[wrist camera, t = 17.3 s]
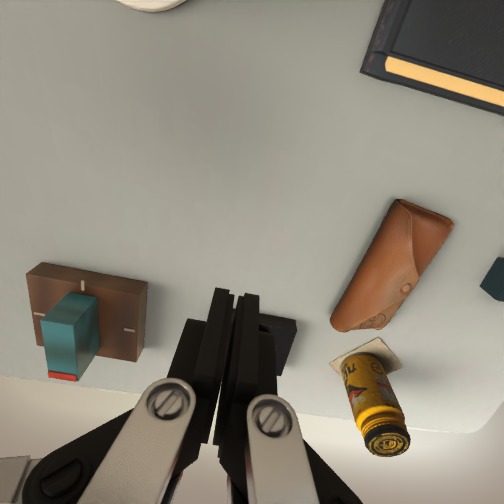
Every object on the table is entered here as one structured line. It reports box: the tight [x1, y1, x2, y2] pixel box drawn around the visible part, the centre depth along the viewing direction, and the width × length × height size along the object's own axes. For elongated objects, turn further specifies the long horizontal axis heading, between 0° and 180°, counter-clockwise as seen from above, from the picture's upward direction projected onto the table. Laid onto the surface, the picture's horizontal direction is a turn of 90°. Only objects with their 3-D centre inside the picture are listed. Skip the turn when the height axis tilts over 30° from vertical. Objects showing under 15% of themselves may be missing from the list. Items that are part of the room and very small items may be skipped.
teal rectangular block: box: [40, 292, 100, 382], centre depth 38 cm, size 9×4×6 cm, turn 169°
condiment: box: [329, 337, 411, 457], centre depth 41 cm, size 7×8×12 cm
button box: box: [226, 309, 297, 376], centre depth 43 cm, size 12×9×4 cm
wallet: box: [360, 0, 504, 116], centre depth 26 cm, size 20×2×15 cm
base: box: [26, 263, 147, 362], centre depth 42 cm, size 14×13×3 cm
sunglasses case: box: [330, 199, 454, 332], centre depth 37 cm, size 18×7×7 cm
